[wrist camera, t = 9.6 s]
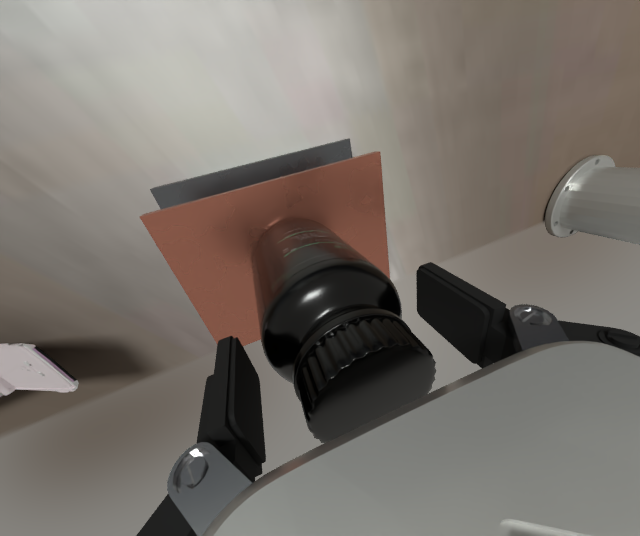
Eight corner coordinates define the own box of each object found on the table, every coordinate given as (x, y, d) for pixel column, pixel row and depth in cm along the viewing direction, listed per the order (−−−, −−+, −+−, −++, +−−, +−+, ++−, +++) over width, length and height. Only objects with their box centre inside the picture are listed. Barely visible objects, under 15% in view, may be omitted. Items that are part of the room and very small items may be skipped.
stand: (344, 139, 23) (391, 132, 16) (361, 260, 30) (399, 293, 23) (154, 187, 20) (110, 204, 13) (221, 311, 27) (216, 366, 20)
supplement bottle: (325, 300, 20) (415, 447, 10) (244, 295, 18) (255, 485, 8) (348, 225, 18) (495, 318, 8) (259, 207, 16) (303, 309, 5)
